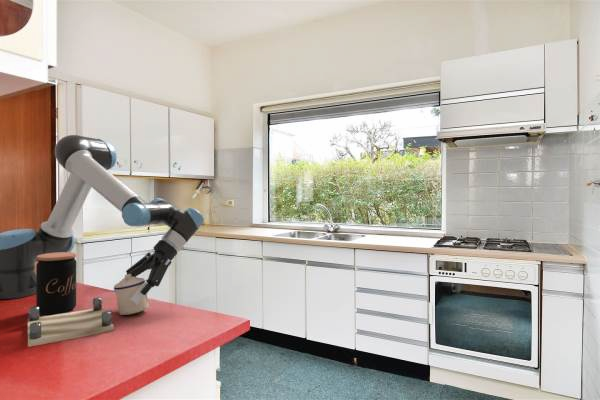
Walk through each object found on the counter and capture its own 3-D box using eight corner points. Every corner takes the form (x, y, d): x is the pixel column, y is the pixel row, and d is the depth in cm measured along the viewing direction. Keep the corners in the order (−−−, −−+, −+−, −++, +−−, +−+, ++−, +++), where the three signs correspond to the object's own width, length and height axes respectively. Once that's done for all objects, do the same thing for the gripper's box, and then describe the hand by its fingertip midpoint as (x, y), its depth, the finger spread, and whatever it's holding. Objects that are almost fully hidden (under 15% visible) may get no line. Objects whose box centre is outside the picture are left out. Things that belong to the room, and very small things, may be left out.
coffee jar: (43, 318, 110) (43, 259, 109) (31, 311, 116) (31, 254, 116) (82, 310, 118) (82, 254, 118) (68, 303, 125) (68, 251, 124)
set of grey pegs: (29, 319, 105) (29, 307, 105) (101, 307, 116) (101, 296, 116) (29, 340, 90) (29, 326, 90) (112, 325, 101) (112, 312, 101)
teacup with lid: (155, 305, 118) (149, 270, 117) (129, 316, 110) (122, 278, 110) (133, 304, 124) (127, 271, 124) (107, 314, 117) (101, 278, 116)
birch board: (27, 324, 105) (27, 319, 105) (102, 312, 117) (102, 307, 117) (27, 347, 90) (28, 340, 90) (113, 330, 101) (113, 325, 101)
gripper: (195, 257, 120) (150, 313, 109) (159, 248, 137) (117, 296, 126) (180, 242, 116) (132, 299, 105) (145, 235, 133) (101, 283, 122)
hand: (124, 297), depth 116 cm, fingers open, 13 cm apart
